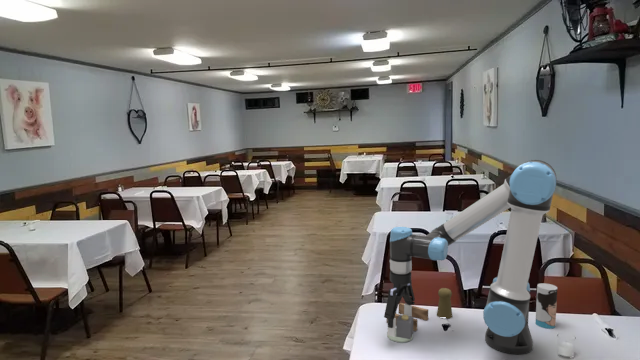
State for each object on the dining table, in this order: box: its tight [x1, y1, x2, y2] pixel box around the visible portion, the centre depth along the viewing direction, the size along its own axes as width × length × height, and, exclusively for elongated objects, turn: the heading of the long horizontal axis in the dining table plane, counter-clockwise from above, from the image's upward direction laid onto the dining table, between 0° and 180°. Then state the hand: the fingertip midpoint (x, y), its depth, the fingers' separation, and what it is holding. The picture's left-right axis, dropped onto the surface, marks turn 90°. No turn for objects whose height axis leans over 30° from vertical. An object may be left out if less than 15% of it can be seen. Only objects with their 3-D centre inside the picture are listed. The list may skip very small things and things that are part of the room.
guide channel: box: [386, 302, 429, 332], centre depth 165 cm, size 12×12×4 cm
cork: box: [436, 287, 453, 320], centre depth 169 cm, size 6×6×11 cm
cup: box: [534, 283, 558, 330], centre depth 160 cm, size 7×7×15 cm
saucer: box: [386, 331, 414, 344], centre depth 153 cm, size 9×9×1 cm
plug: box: [396, 314, 414, 339], centre depth 152 cm, size 5×5×7 cm
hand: (399, 328), depth 153 cm, fingers open, 13 cm apart
